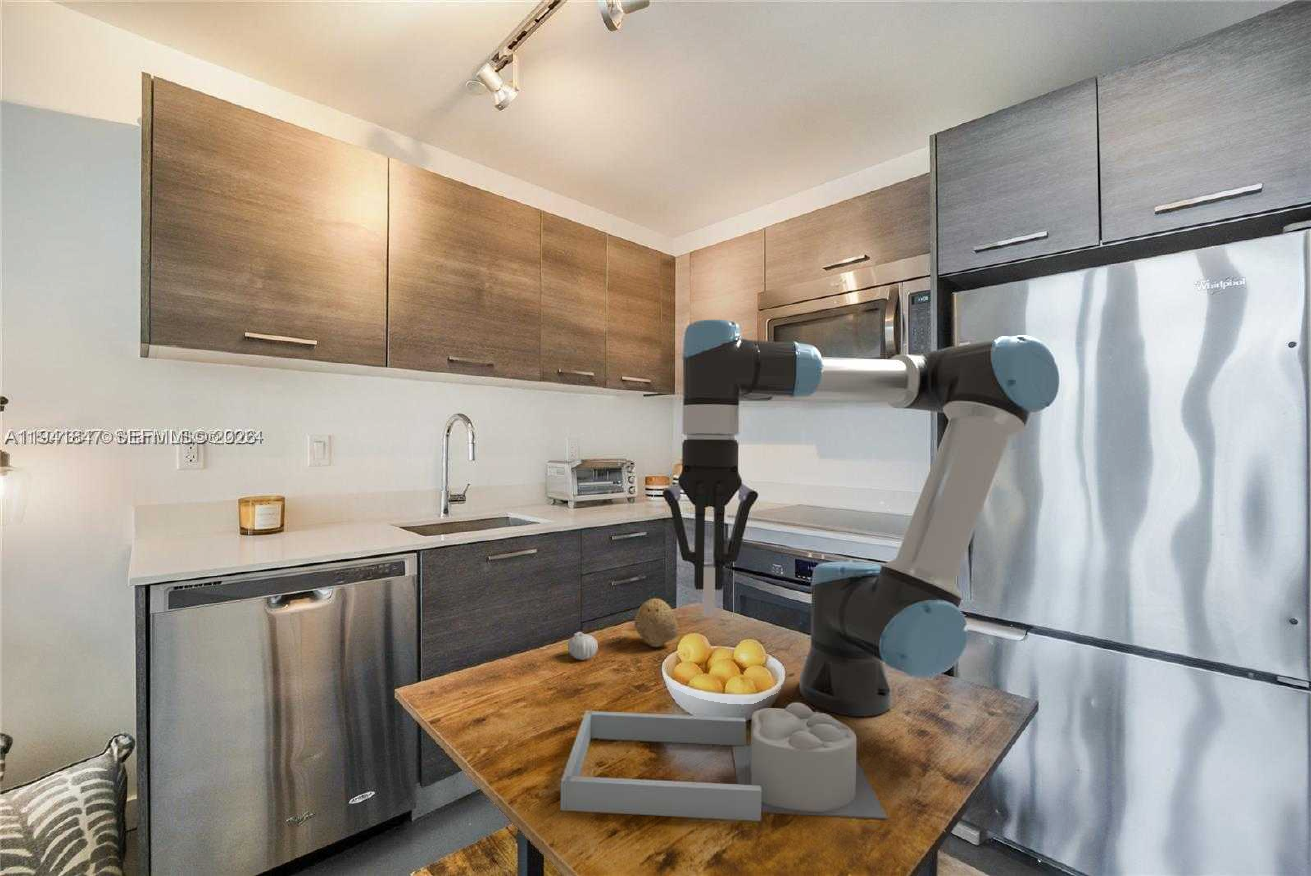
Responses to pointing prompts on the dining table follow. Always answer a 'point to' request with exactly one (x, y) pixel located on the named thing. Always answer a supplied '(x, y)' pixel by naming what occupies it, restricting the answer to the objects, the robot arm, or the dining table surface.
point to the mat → (859, 807)
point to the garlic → (582, 646)
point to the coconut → (656, 622)
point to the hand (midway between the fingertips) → (708, 613)
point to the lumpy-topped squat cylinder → (802, 758)
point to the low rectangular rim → (655, 793)
